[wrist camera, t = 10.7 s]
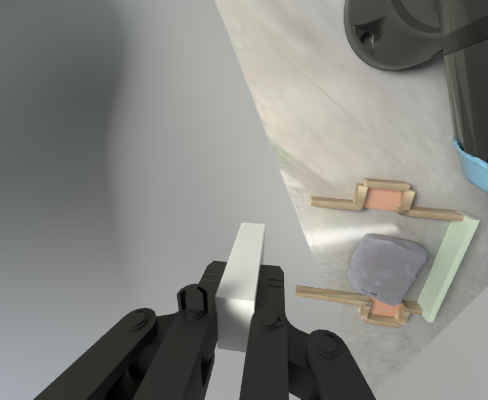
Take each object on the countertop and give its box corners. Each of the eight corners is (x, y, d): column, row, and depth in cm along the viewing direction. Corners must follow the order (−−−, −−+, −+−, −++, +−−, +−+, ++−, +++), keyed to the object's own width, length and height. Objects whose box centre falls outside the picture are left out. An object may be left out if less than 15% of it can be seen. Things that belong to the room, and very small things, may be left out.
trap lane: (314, 173, 38) (318, 178, 34) (471, 187, 35) (492, 194, 32) (291, 304, 47) (293, 318, 44) (414, 322, 45) (425, 338, 42)
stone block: (372, 239, 35) (438, 255, 35) (361, 226, 40) (419, 240, 39) (345, 297, 39) (403, 313, 39) (338, 279, 44) (390, 293, 43)
